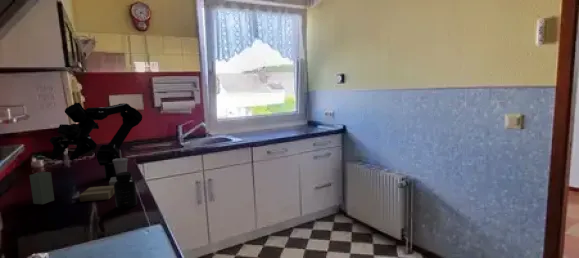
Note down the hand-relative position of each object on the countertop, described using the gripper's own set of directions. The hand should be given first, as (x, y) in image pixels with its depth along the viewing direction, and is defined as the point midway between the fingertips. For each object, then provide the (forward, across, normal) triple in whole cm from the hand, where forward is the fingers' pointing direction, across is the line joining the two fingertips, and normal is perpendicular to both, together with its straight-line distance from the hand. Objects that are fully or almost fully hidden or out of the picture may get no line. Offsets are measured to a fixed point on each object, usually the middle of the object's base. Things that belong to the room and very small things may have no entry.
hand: (61, 159), depth 131 cm
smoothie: (-7, +8, +26) cm, 28 cm away
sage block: (+16, -1, +6) cm, 17 cm away
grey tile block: (0, +16, +20) cm, 25 cm away
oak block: (+9, +16, +12) cm, 22 cm away
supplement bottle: (+15, +34, +7) cm, 38 cm away
